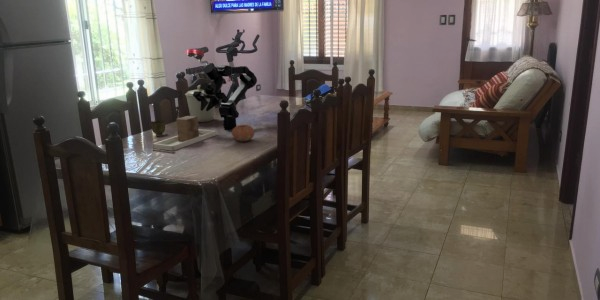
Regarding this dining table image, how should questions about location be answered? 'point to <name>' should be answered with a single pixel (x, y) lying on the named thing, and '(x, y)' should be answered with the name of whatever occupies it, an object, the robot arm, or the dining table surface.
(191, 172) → the dining table surface
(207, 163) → the dining table surface
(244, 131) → the orange pumpkin
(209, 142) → the dining table surface
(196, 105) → the canister
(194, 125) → the tan upright block
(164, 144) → the trap box
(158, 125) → the cup
